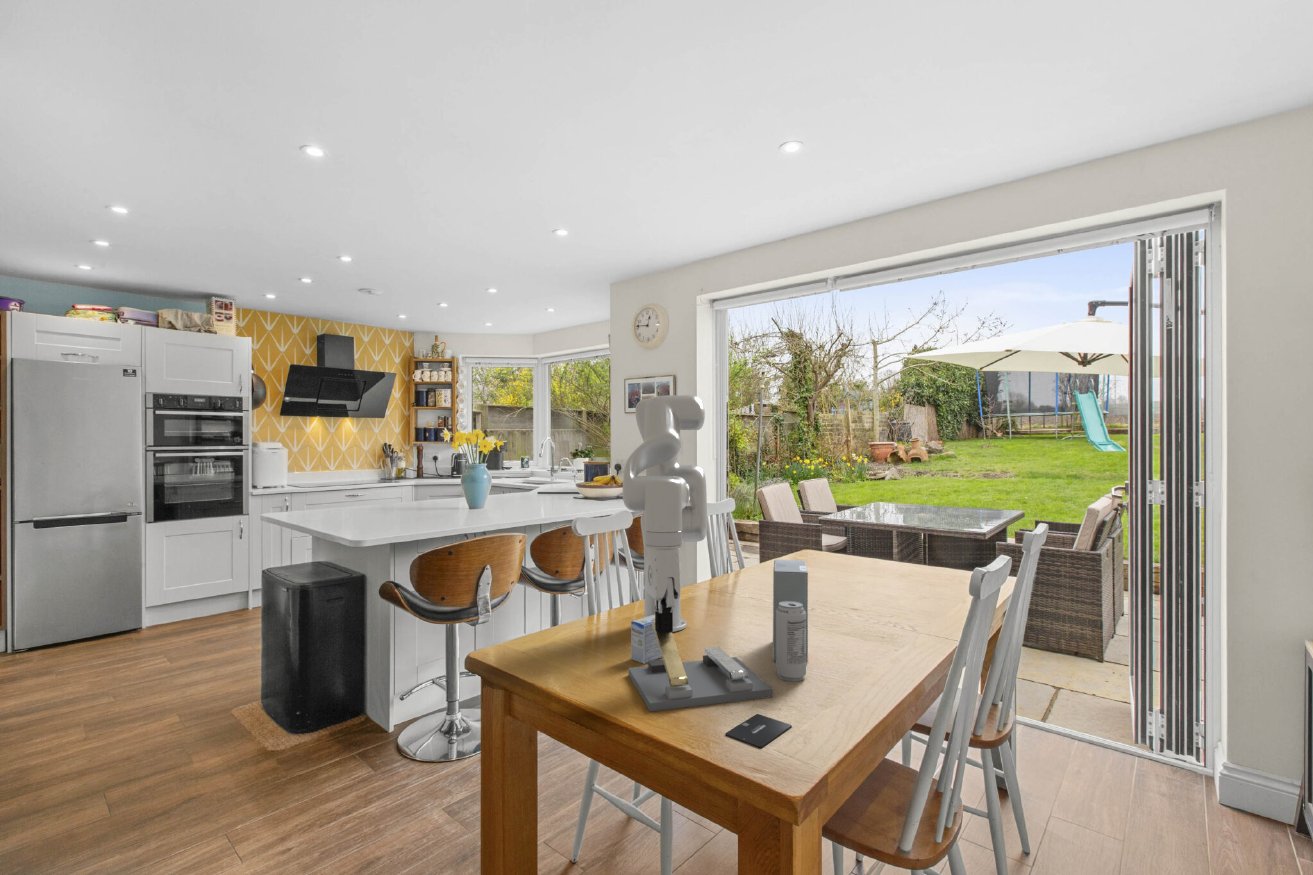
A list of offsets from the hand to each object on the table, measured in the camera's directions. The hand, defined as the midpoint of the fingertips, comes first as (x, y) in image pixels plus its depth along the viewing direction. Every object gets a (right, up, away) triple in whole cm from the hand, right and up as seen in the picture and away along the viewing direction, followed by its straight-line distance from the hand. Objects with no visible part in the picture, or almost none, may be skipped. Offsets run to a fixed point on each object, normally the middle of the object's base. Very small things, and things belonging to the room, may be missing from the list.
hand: (663, 631), depth 122 cm
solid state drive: (+16, -11, -20) cm, 28 cm away
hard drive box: (+29, -11, +19) cm, 37 cm away
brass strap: (+1, -4, -3) cm, 5 cm away
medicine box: (-3, -11, +15) cm, 19 cm away
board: (+7, -10, -1) cm, 12 cm away
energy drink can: (+26, -11, +4) cm, 29 cm away
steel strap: (+12, -7, +1) cm, 14 cm away
